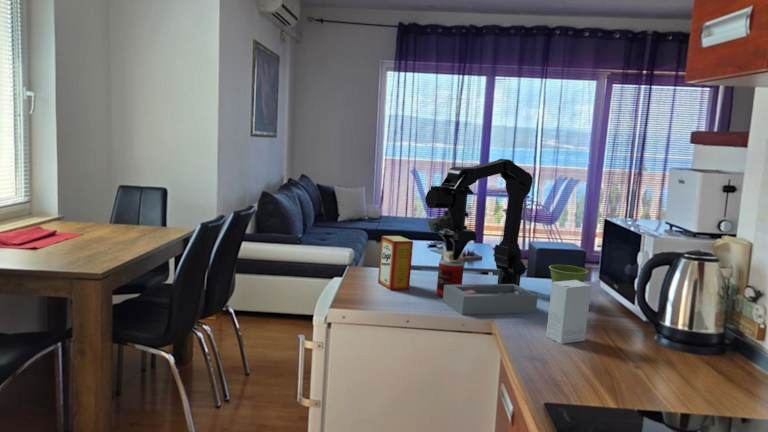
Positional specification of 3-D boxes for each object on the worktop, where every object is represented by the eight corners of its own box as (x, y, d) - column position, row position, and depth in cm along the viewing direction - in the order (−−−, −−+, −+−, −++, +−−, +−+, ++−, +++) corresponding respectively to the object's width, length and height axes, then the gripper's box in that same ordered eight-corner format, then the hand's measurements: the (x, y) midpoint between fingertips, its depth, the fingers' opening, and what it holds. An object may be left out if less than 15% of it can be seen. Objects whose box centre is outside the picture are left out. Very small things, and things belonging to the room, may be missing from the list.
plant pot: (548, 296, 199) (552, 262, 198) (586, 303, 194) (590, 268, 193) (541, 304, 188) (545, 268, 187) (581, 311, 183) (585, 274, 182)
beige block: (457, 258, 191) (457, 250, 191) (462, 260, 187) (462, 252, 187) (443, 259, 190) (443, 251, 189) (449, 262, 186) (449, 254, 185)
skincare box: (569, 334, 159) (576, 279, 158) (586, 342, 154) (593, 285, 152) (544, 336, 156) (550, 280, 154) (560, 344, 150) (567, 286, 148)
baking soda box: (378, 282, 199) (381, 234, 197) (395, 282, 202) (399, 234, 200) (390, 290, 191) (394, 240, 189) (408, 289, 193) (413, 240, 191)
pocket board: (512, 300, 190) (514, 284, 189) (535, 312, 178) (537, 295, 177) (442, 301, 182) (444, 284, 181) (462, 314, 170) (463, 296, 169)
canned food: (460, 293, 193) (463, 259, 192) (461, 300, 185) (464, 264, 184) (436, 291, 194) (439, 257, 193) (436, 297, 186) (439, 262, 185)
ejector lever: (515, 294, 184) (515, 283, 184) (521, 297, 181) (521, 286, 181) (461, 302, 178) (460, 291, 178) (466, 305, 176) (465, 294, 175)
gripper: (420, 203, 192) (416, 252, 194) (445, 212, 175) (441, 265, 177) (452, 204, 196) (448, 252, 198) (480, 213, 179) (475, 265, 181)
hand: (452, 258), depth 188 cm, fingers closed on beige block, 4 cm apart
